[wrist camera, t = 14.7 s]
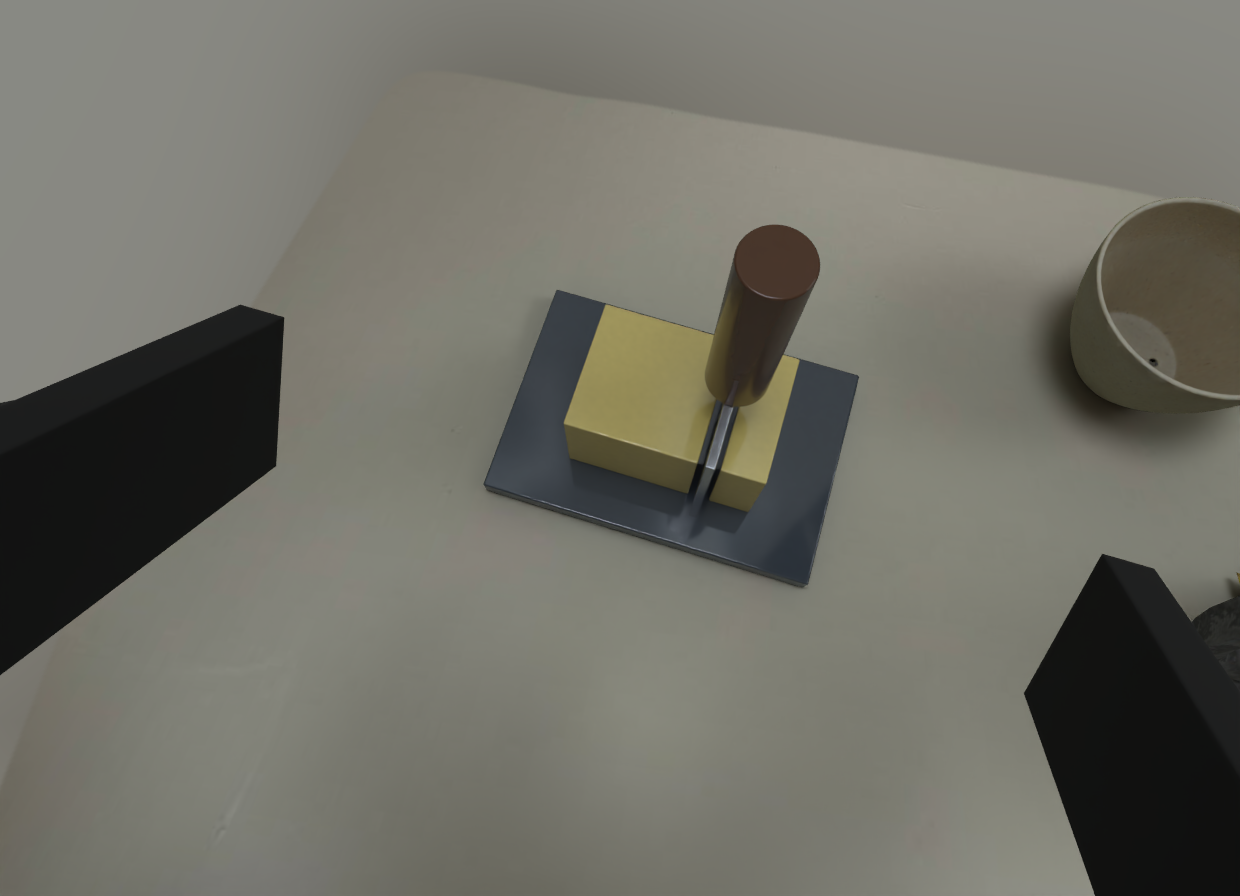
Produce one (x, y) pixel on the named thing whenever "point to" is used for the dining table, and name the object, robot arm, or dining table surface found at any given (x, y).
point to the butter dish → (663, 510)
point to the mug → (1223, 634)
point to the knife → (755, 325)
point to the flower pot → (1163, 309)
